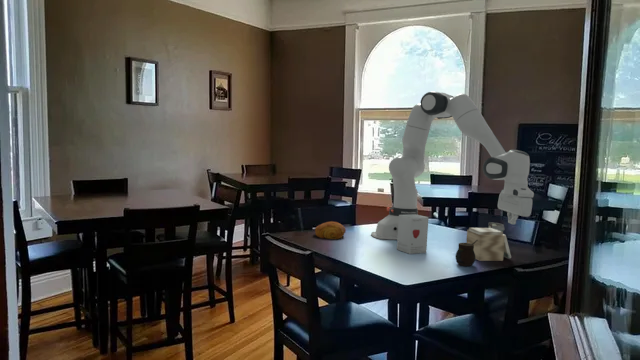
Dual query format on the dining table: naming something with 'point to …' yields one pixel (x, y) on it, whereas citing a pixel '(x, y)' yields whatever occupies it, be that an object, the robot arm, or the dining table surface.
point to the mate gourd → (465, 254)
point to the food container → (496, 226)
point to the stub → (506, 249)
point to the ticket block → (487, 243)
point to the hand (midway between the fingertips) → (511, 223)
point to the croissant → (330, 230)
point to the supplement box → (412, 233)
